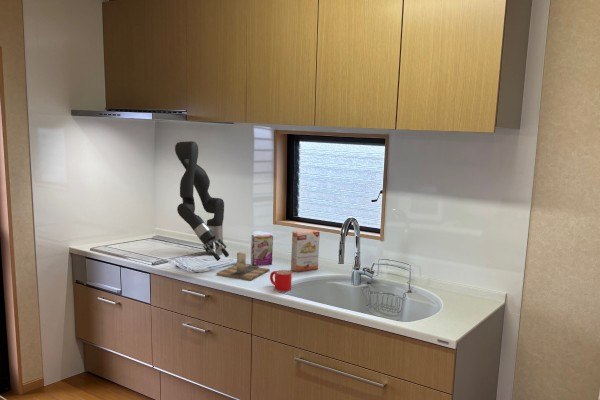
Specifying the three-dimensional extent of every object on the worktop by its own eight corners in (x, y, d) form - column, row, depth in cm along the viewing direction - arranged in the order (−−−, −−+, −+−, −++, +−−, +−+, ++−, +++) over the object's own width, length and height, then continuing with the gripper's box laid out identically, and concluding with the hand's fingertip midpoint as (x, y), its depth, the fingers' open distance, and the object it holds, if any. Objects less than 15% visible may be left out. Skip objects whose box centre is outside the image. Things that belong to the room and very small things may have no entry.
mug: (274, 283, 259) (275, 267, 258) (294, 288, 252) (295, 272, 251) (264, 287, 253) (264, 270, 252) (284, 292, 246) (284, 275, 245)
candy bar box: (252, 266, 289) (253, 236, 287) (250, 263, 294) (251, 234, 291) (272, 264, 293) (273, 235, 290) (270, 262, 297) (270, 233, 295)
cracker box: (296, 272, 279) (297, 233, 276) (290, 269, 284) (291, 231, 281) (318, 269, 286) (320, 231, 283) (312, 266, 291) (314, 229, 288)
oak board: (236, 266, 288) (236, 263, 288) (269, 271, 280) (269, 268, 280) (216, 275, 270) (216, 272, 270) (251, 280, 262) (251, 278, 262)
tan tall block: (239, 270, 274) (239, 251, 272) (247, 272, 272) (247, 252, 271) (235, 272, 270) (235, 253, 268) (242, 274, 268) (243, 254, 267)
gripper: (201, 231, 269) (220, 256, 266) (216, 227, 282) (235, 250, 279) (192, 240, 272) (211, 265, 269) (208, 235, 285) (226, 259, 282)
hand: (223, 257), depth 274 cm, fingers open, 8 cm apart
